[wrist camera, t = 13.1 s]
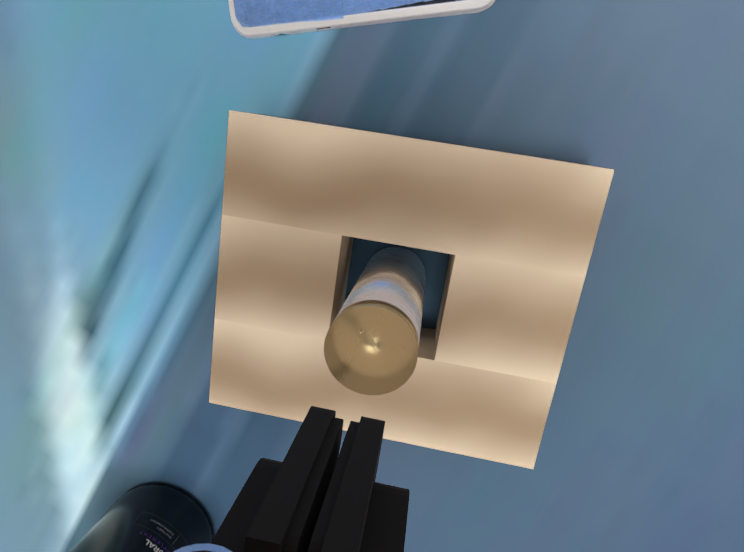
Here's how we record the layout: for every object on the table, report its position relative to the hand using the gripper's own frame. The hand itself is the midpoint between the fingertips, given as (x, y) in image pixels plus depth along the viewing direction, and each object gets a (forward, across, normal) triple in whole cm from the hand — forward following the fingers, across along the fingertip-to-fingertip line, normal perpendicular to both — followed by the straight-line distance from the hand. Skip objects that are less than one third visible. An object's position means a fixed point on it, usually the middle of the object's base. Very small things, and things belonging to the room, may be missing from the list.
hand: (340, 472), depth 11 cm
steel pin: (+16, 0, 0) cm, 16 cm away
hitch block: (+16, 0, 0) cm, 16 cm away
